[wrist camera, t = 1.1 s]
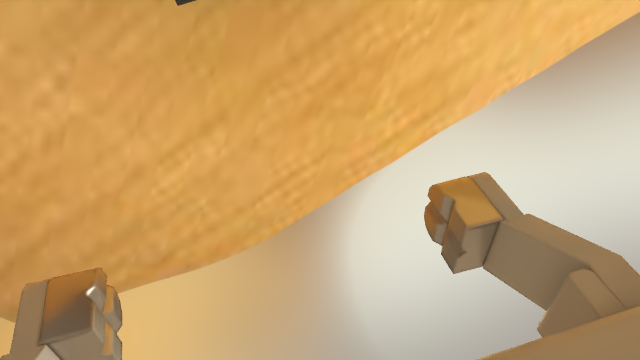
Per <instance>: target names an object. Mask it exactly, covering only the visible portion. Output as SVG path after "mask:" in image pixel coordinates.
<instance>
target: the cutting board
mask: <svg viewBox="0 0 640 360" xmlns="http://www.w3.org/2000/svg"><path fill="white" fill-rule="evenodd" d="M175 1H176V3H177V5H178V6H179V5H182V4H185V3H189V2H192V1H195V0H175Z"/></svg>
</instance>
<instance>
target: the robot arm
mask: <svg viewBox="0 0 640 360" xmlns="http://www.w3.org/2000/svg"><path fill="white" fill-rule="evenodd" d="M428 197H429V198H430V200H431V202H430V203H429V204H428V205H427V206H426V208H425V214H424V219H425V225H426V228H427V231H428V233H429V235H430V237H431V238H432V240H433V241H434V242H436V243H438V244H440V245H442V252H441V255H442V256H443V258H444V260H445V261H446V263H447V264H448V266H449V268H450V269H451V271H452V272H453V274H455V273H459V272H463V271H467V270H471V269H475V268H478V267H482V266H483V268H484V269H485V270H487V271H488V272H490V273H491V274H492V275H494V276H495V277H497V278H499V279H500V280H501V281H503V282H504V283H506V284H507V285H509V286H510V287H512V288H514V289H515V290H516V291H518V292H519V293H521V294H522V295H524V296H525V297H527V298H528V299H530V300H531V301H533V302H534V303H536V304H537V305H539V306H540V307H542V308H543V309H544V310H546V312H545V314H544V316H543V317H542V319H541V321H540V322H539V325H538V327H537V330H538V332H539V333H540V334H541V336H542V338H540V339H537V340H534V341H531V342H528V343H525V344H522V345H519V346H516V347H513V348H510V349H507V350H504V351H501V352H498V353H495V354H492V355H489V356H486V357H483V358H480V359H477V360H640V275H639V274H638V273H637V272H636V271H635V270H634V269H633V268H632V267H631V266H630V265H629V264H628V263H627V262H626V261H625V259H623V258H622V256H620V255H618V254H616V253H614V252H611V251H609V250H607V249H605V248H603V247H601V246H598V245H596V244H594V243H592V242H590V241H587V240H585V239H583V238H581V237H579V236H577V235H574V234H572V233H570V232H568V231H566V230H563V229H561V228H559V227H557V226H555V225H552V224H550V223H548V222H546V221H544V220H542V219H539V218H537V217H535V216H533V215H531V214H525V215H523V213H522V212H521V211H520V210H519V209H518V207H517V206H516V205H515V204H514V203H513V201H512V200H511V199H510V198H509V197H508V196H507V194H506V193H505V192H504V191H503V190H502V189H501V188H500V186H499V185H498V184H497V183H496V181H495V180H494V179H493V178H492V177H491V176H490V175H489V174H488V173H486V172H483V173H479V174H475V175H471V176H467V177H462V178H458V179H454V180H450V181H446V182H443V183H439V184H435V185H432V186H431V187H430V189H429V193H428ZM106 283H107V276H106V274H105V273H104V271H103V270H102V268H95V269H91V270H86V271H82V272H77V273H73V274H68V275H63V276H59V277H54V278H51V279H46V280H42V281H38V282H33V283H29V284H26V286H25V287H24V289H23V291H22V293H21V298H20V303H19V308H18V314H17V319H16V324H15V329H14V334H13V340H12V345H11V350H10V354H7V355H4V356H2V357H1V358H0V360H122V342H121V340H120V339H119V337H118V336H117V332H118V331H119V329H120V328H121V326H122V310H121V304H120V300H119V297H118V294H117V292H116V290H115V289H114V287H112V286H109V285H107V284H106Z"/></svg>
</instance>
